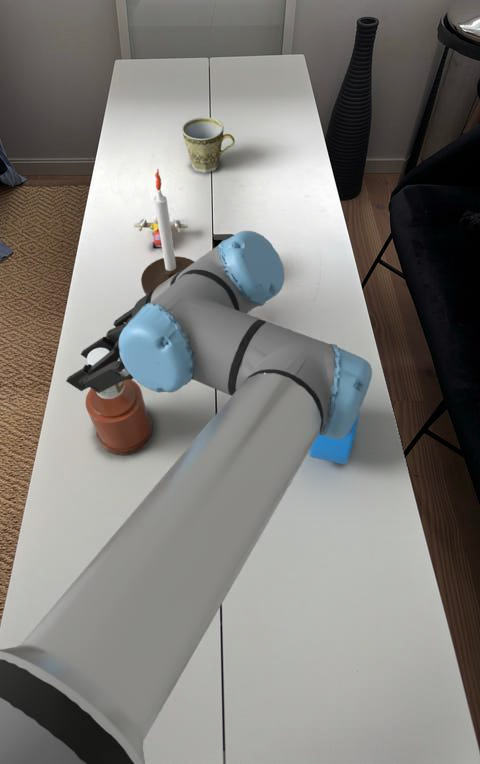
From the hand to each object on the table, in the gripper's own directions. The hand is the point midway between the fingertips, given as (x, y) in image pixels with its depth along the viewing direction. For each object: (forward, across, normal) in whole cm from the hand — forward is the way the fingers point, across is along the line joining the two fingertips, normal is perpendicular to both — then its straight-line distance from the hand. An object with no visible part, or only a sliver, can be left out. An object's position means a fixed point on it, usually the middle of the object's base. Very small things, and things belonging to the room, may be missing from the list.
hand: (82, 370), depth 82 cm
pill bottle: (0, 0, -5) cm, 5 cm away
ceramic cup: (+14, +78, -9) cm, 80 cm away
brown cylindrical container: (+9, 0, -14) cm, 17 cm away
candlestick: (+7, +24, -16) cm, 29 cm away
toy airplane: (+16, +50, -7) cm, 53 cm away
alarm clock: (-15, +7, -38) cm, 42 cm away
